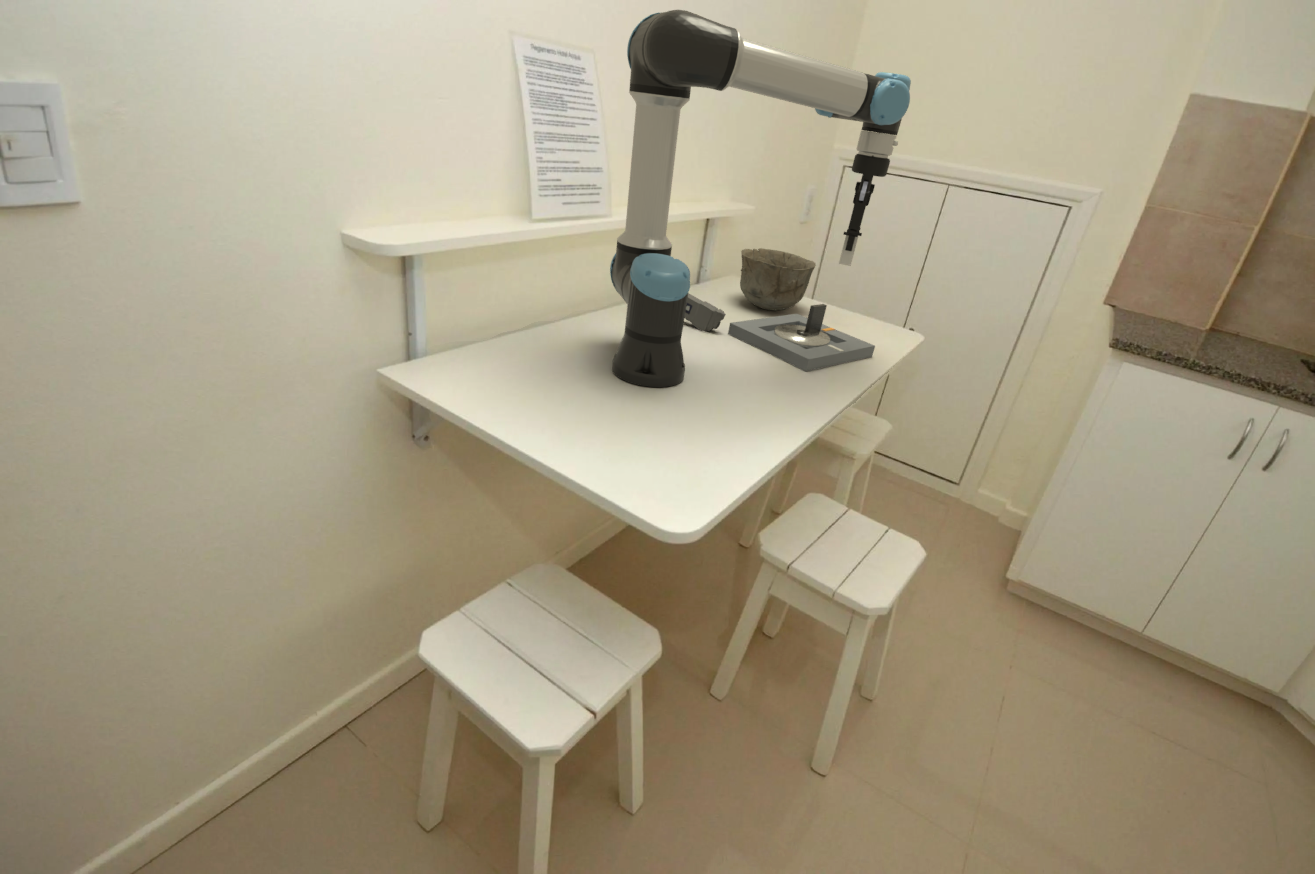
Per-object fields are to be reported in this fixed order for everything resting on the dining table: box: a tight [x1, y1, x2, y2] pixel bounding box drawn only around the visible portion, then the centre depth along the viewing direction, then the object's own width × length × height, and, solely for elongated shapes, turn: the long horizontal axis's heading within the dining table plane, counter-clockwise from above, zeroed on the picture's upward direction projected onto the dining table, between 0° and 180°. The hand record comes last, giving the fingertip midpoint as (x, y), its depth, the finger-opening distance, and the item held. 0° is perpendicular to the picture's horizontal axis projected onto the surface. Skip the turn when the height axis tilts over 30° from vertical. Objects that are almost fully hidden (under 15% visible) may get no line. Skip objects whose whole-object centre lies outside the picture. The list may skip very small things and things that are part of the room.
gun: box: [684, 292, 726, 332], centre depth 171 cm, size 3×25×15 cm, turn 61°
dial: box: [774, 303, 830, 349], centre depth 164 cm, size 14×14×8 cm
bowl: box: [739, 247, 817, 311], centre depth 191 cm, size 22×22×15 cm
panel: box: [727, 313, 876, 372], centre depth 166 cm, size 26×26×3 cm
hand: (844, 264), depth 152 cm, fingers closed
